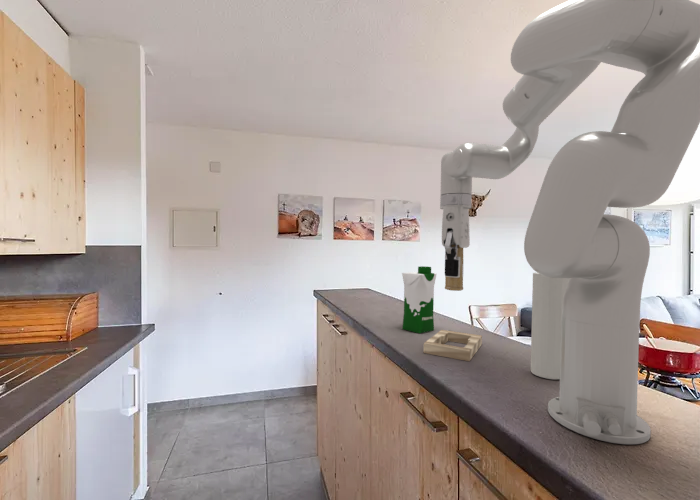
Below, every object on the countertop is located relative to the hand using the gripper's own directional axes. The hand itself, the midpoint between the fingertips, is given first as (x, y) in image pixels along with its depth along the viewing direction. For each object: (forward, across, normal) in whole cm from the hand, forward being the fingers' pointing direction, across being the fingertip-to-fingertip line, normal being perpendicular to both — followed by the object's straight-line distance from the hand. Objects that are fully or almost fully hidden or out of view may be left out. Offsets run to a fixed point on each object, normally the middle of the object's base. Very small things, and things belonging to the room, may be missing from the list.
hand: (454, 274), depth 85 cm
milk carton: (+20, +16, +15) cm, 29 cm away
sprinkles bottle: (+4, 0, 0) cm, 4 cm away
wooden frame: (+19, +2, 0) cm, 19 cm away
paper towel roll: (+20, -5, -21) cm, 29 cm away
